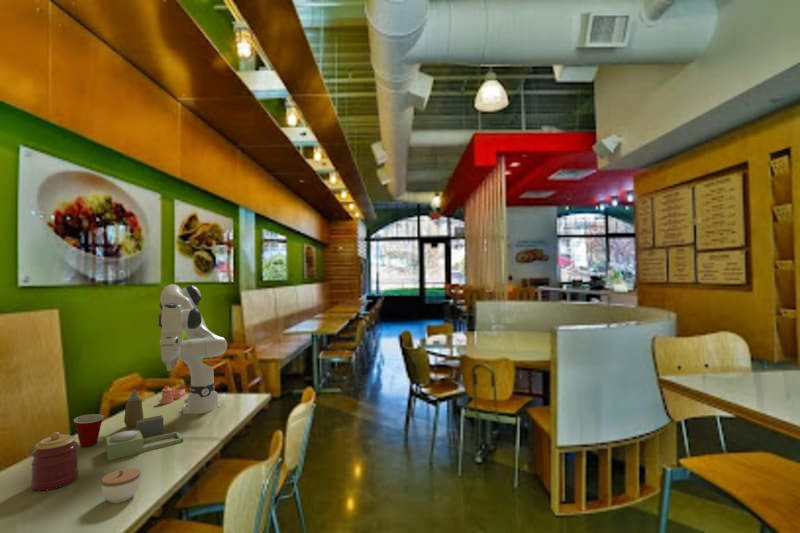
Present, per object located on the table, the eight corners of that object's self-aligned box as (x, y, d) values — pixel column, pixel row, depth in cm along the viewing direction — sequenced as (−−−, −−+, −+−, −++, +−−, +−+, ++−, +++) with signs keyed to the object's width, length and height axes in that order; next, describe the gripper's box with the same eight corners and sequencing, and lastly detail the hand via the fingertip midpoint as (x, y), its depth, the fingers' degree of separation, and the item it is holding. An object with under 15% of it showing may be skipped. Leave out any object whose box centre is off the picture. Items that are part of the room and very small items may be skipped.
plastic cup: (93, 449, 179) (93, 421, 179) (67, 450, 178) (67, 421, 179) (110, 439, 190) (110, 412, 190) (85, 440, 189) (85, 413, 190)
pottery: (168, 396, 258) (168, 380, 259) (184, 395, 260) (184, 379, 260) (155, 405, 241) (155, 388, 241) (173, 404, 242) (173, 387, 242)
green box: (105, 451, 177) (105, 434, 177) (177, 435, 194) (177, 419, 194) (108, 461, 168) (108, 442, 168) (183, 443, 184) (183, 426, 184)
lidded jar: (147, 490, 144) (147, 462, 144) (128, 507, 133) (128, 477, 133) (114, 491, 144) (114, 463, 144) (93, 508, 133) (93, 478, 133)
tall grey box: (136, 437, 192) (136, 420, 192) (161, 432, 198) (161, 415, 198) (137, 441, 188) (137, 422, 188) (163, 435, 194) (163, 418, 194)
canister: (72, 470, 160) (72, 423, 160) (83, 480, 152) (83, 430, 152) (27, 484, 150) (27, 433, 150) (35, 495, 141) (35, 442, 142)
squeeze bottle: (147, 423, 210) (147, 387, 210) (135, 429, 202) (135, 391, 202) (132, 423, 211) (132, 387, 211) (119, 429, 203) (119, 391, 203)
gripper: (170, 336, 207) (170, 364, 207) (158, 341, 187) (158, 373, 187) (184, 335, 209) (184, 363, 208) (174, 341, 189) (174, 372, 188)
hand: (172, 368), depth 197 cm, fingers open, 8 cm apart
